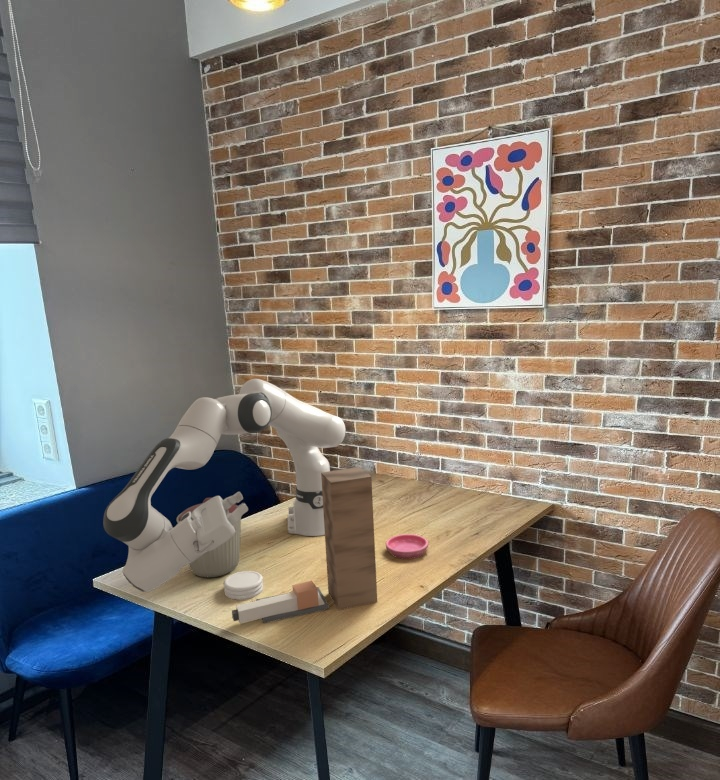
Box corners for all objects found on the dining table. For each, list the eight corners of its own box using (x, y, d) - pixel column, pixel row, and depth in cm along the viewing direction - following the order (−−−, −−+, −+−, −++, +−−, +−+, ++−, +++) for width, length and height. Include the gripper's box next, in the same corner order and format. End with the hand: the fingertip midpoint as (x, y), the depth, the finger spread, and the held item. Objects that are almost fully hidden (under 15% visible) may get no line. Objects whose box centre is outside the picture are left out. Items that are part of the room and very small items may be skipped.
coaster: (218, 590, 156) (217, 578, 156) (252, 578, 162) (251, 566, 161) (235, 605, 148) (233, 592, 148) (270, 591, 154) (269, 579, 154)
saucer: (406, 565, 165) (406, 555, 164) (377, 552, 175) (376, 542, 174) (437, 552, 173) (437, 541, 172) (407, 540, 182) (407, 530, 182)
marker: (231, 617, 140) (230, 600, 139) (312, 597, 147) (311, 580, 147) (235, 626, 136) (233, 608, 135) (318, 605, 143) (317, 588, 143)
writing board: (256, 603, 148) (256, 598, 148) (318, 590, 153) (318, 586, 153) (263, 623, 139) (262, 618, 139) (328, 608, 144) (328, 604, 143)
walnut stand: (328, 593, 151) (321, 472, 146) (365, 585, 154) (359, 466, 149) (338, 610, 143) (330, 482, 138) (377, 601, 146) (371, 476, 141)
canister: (259, 568, 168) (254, 496, 164) (201, 591, 156) (194, 515, 152) (227, 550, 181) (221, 483, 178) (171, 570, 169) (163, 499, 165)
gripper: (186, 544, 123) (242, 504, 126) (182, 512, 142) (231, 477, 145) (204, 566, 125) (258, 526, 128) (198, 531, 144) (245, 497, 147)
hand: (243, 500), depth 136 cm, fingers open, 7 cm apart
